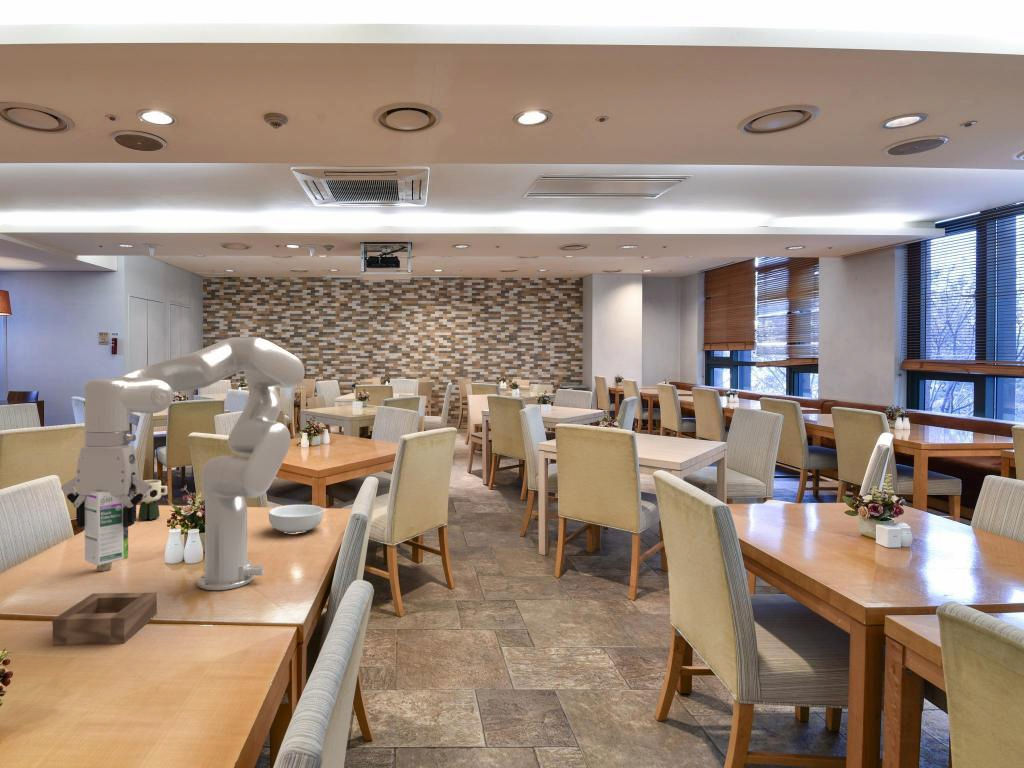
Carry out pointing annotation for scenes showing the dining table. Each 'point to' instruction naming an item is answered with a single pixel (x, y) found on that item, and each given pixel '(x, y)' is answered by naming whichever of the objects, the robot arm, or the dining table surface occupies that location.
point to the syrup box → (105, 528)
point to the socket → (104, 618)
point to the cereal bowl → (295, 517)
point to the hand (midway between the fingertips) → (106, 525)
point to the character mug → (151, 500)
